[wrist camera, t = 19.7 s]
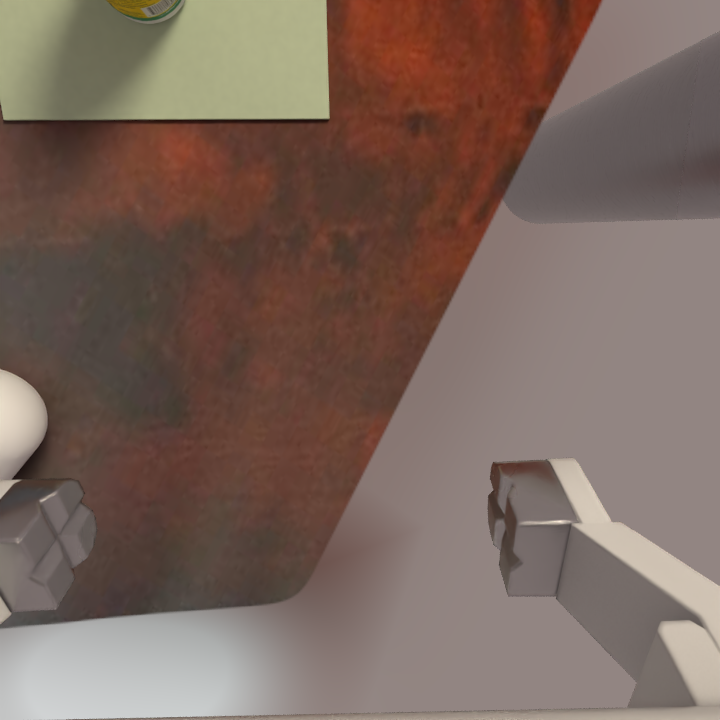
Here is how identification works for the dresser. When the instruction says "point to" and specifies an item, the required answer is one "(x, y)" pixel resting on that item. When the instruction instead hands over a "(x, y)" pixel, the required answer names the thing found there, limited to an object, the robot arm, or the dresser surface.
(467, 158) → the dresser surface
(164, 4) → the supplement bottle
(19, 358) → the dresser surface
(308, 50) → the mat
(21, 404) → the mug
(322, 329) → the dresser surface
